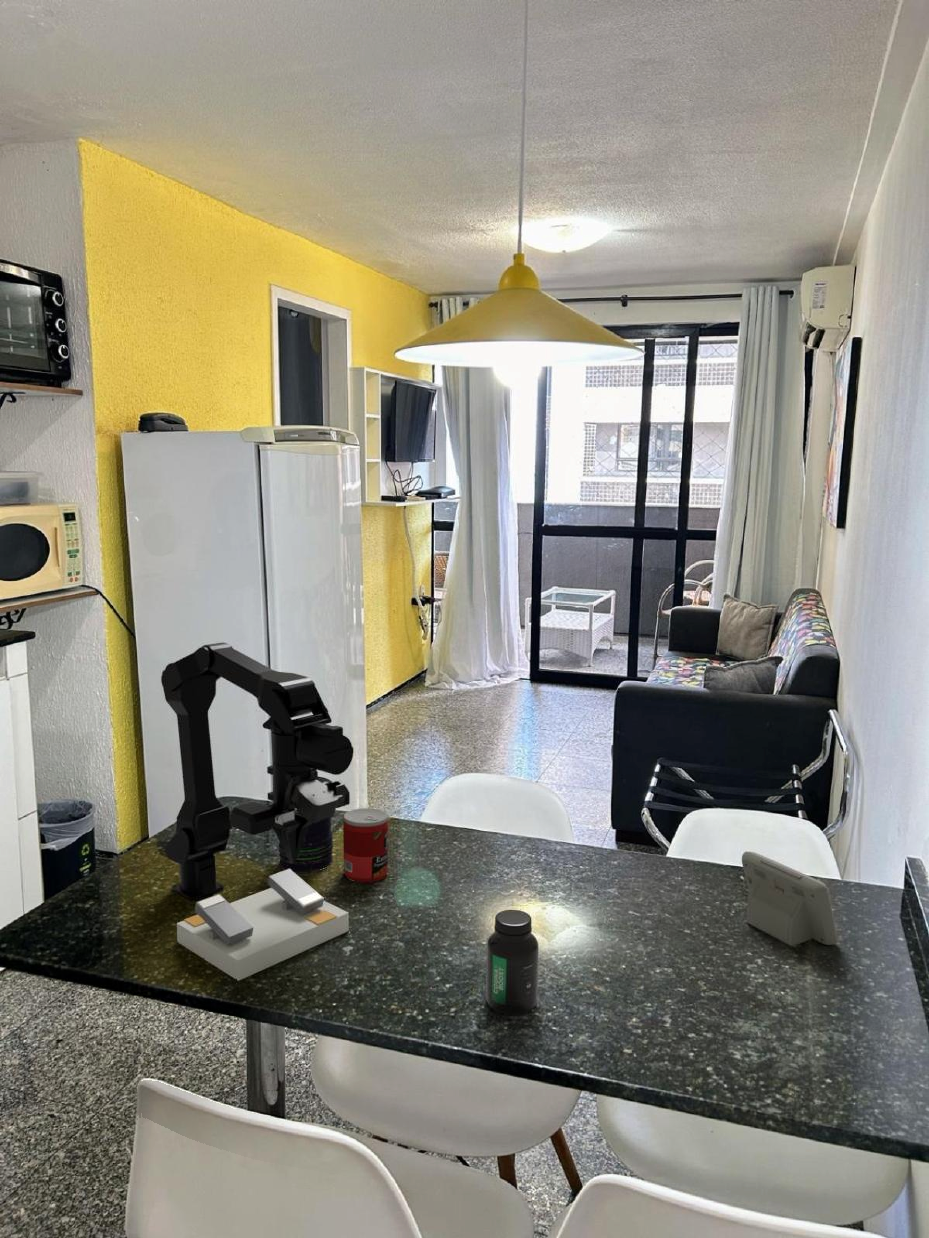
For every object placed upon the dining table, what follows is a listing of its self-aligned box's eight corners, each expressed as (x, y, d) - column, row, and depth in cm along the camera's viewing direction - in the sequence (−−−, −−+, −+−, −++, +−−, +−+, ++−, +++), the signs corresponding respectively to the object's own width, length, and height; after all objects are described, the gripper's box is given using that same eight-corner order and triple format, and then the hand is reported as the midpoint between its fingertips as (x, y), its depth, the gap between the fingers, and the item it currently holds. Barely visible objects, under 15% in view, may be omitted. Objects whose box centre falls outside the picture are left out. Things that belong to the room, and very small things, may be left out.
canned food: (381, 885, 155) (381, 824, 154) (337, 880, 157) (336, 820, 156) (393, 867, 163) (393, 809, 161) (351, 863, 164) (351, 806, 163)
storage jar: (328, 873, 160) (327, 793, 158) (273, 872, 160) (272, 792, 158) (336, 851, 170) (336, 775, 168) (285, 851, 170) (284, 775, 168)
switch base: (177, 941, 135) (176, 915, 134) (285, 899, 149) (285, 875, 149) (238, 980, 124) (237, 952, 124) (348, 930, 139) (348, 905, 138)
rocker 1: (194, 910, 132) (195, 901, 132) (218, 902, 135) (219, 893, 135) (228, 945, 127) (229, 936, 126) (252, 935, 130) (253, 926, 129)
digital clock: (843, 948, 135) (848, 882, 134) (794, 958, 132) (798, 889, 131) (774, 903, 151) (777, 842, 149) (728, 910, 148) (731, 848, 146)
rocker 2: (267, 883, 142) (269, 875, 142) (288, 876, 145) (289, 868, 144) (302, 914, 137) (303, 906, 136) (322, 906, 139) (324, 897, 139)
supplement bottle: (499, 1021, 115) (501, 933, 114) (477, 994, 121) (479, 910, 120) (546, 1009, 118) (548, 923, 116) (522, 984, 124) (524, 902, 123)
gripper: (273, 787, 122) (275, 895, 124) (374, 758, 136) (373, 856, 138) (226, 769, 130) (228, 872, 132) (326, 744, 143) (326, 837, 146)
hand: (292, 859), depth 137 cm, fingers closed
